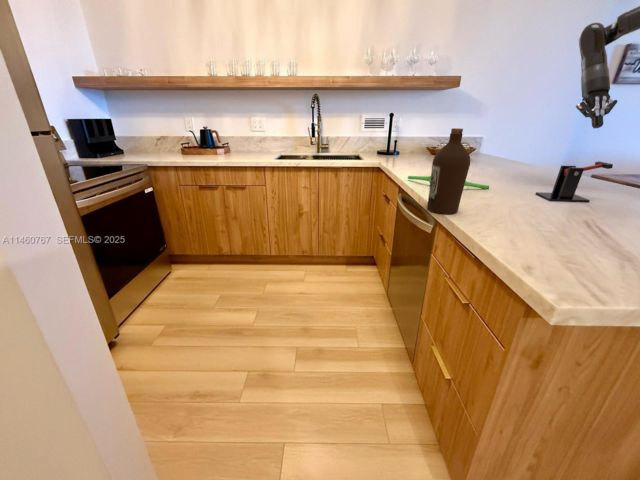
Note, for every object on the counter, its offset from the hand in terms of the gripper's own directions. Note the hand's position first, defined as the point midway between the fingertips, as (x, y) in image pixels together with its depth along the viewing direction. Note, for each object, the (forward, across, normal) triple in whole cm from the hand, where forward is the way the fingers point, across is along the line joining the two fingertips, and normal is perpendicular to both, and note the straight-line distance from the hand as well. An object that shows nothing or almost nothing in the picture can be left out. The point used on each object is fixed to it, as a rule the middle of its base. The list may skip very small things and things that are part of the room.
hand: (597, 127), depth 104 cm
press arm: (+17, -8, -4) cm, 19 cm away
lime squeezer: (+17, -50, +15) cm, 55 cm away
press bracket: (+26, -13, +1) cm, 29 cm away
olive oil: (+30, -61, -14) cm, 70 cm away
